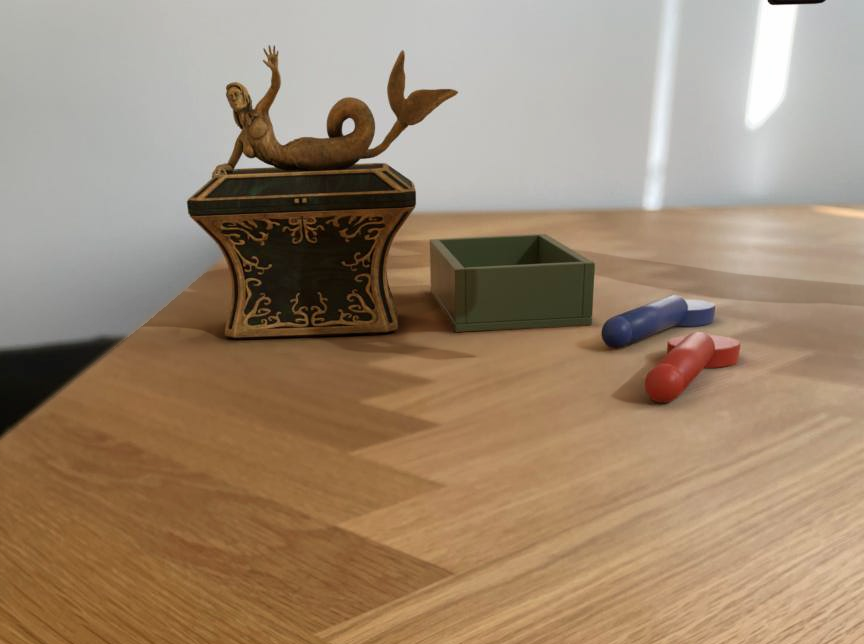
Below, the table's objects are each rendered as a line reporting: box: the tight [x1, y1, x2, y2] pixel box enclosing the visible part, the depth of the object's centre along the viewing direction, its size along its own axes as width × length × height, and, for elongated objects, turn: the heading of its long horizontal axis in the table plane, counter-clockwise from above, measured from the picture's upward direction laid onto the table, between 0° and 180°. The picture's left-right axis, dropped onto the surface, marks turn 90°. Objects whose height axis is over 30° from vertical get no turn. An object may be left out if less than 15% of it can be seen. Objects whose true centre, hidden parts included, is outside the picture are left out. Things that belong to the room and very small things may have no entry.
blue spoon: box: [600, 294, 716, 350], centre depth 77 cm, size 14×5×2 cm, turn 142°
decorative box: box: [186, 44, 459, 340], centre depth 79 cm, size 20×10×20 cm, turn 90°
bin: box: [429, 233, 596, 333], centre depth 88 cm, size 11×19×5 cm, turn 4°
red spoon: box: [644, 331, 741, 404], centre depth 65 cm, size 14×5×2 cm, turn 154°
